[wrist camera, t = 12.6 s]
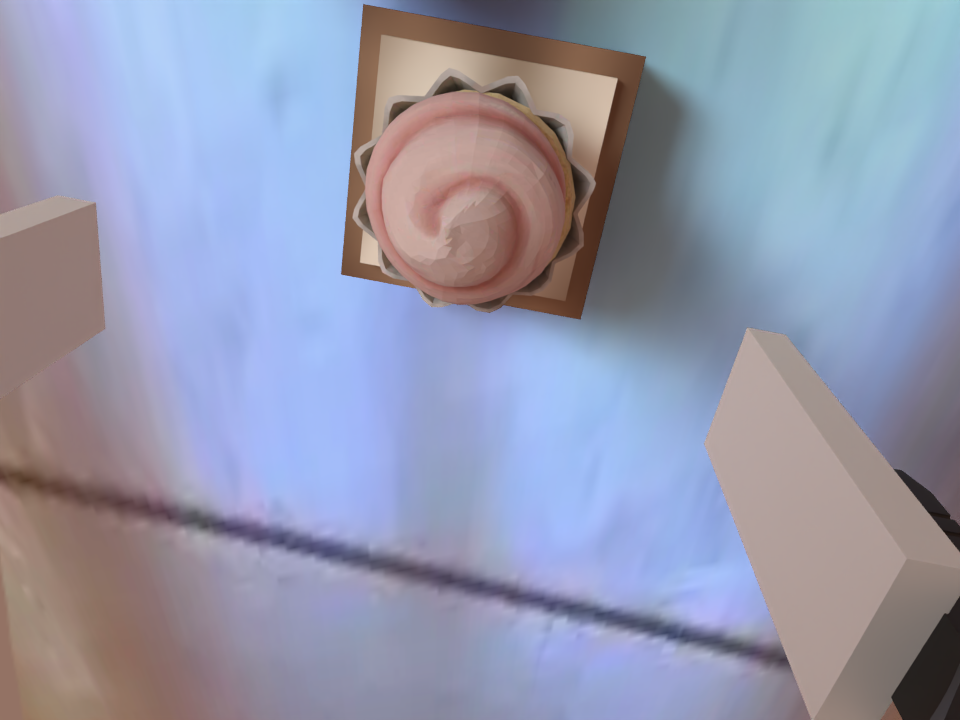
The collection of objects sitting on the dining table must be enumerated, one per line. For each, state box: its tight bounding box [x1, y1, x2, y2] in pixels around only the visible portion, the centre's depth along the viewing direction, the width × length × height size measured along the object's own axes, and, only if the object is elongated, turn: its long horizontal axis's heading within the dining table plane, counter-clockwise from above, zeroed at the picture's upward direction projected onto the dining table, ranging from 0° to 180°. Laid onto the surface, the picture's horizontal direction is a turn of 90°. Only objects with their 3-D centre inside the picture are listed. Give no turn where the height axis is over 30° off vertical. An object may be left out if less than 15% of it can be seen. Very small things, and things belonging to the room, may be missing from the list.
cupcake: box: [352, 68, 596, 313], centre depth 26 cm, size 9×9×10 cm
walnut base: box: [341, 4, 646, 319], centre depth 34 cm, size 12×12×6 cm
